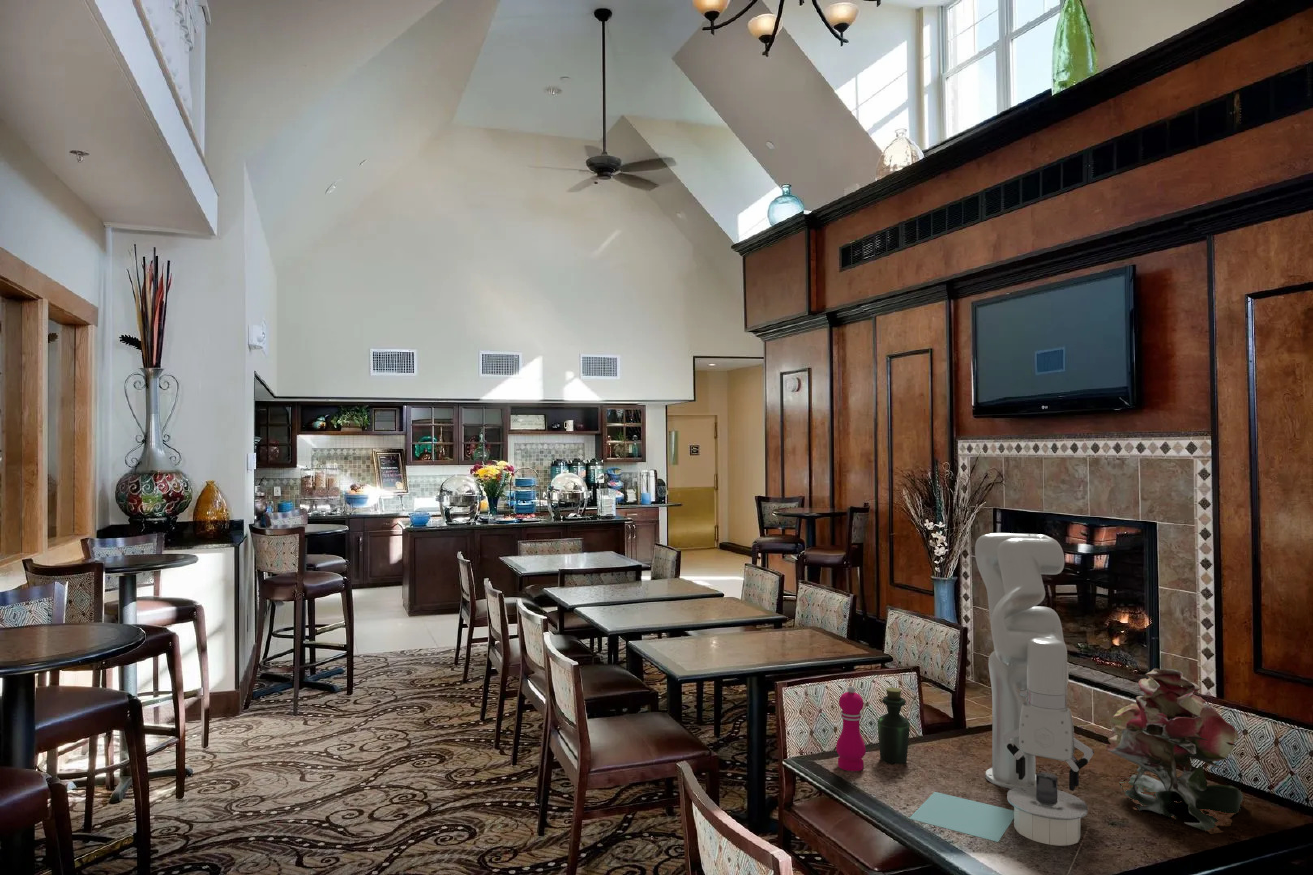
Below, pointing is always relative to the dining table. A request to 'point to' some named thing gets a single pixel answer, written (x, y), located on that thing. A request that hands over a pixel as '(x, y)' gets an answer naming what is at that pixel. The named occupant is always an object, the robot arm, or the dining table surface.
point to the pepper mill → (851, 732)
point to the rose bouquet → (1174, 747)
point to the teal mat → (964, 816)
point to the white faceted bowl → (1047, 829)
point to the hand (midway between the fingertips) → (1046, 783)
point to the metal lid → (1047, 799)
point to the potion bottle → (893, 729)
